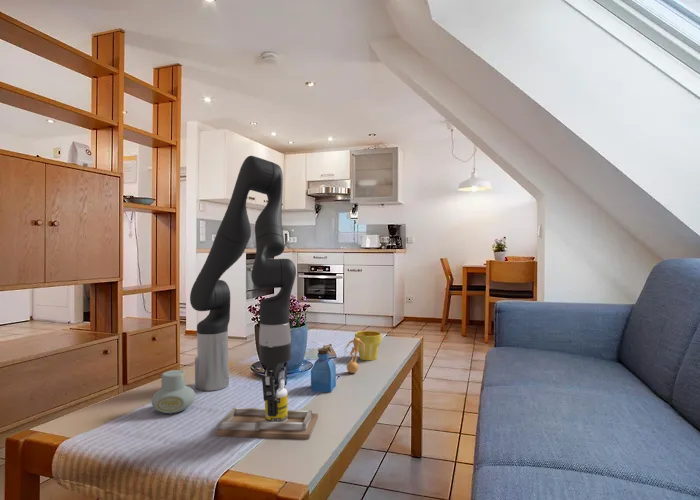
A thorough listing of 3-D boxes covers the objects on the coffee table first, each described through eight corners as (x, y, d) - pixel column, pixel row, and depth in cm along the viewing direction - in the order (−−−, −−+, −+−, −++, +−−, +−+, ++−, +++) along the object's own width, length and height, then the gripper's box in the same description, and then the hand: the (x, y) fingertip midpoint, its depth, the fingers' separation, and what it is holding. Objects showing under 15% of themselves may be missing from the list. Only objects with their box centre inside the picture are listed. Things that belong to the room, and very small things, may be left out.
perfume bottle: (331, 392, 128) (330, 352, 128) (311, 391, 129) (310, 351, 129) (335, 385, 134) (335, 347, 134) (316, 384, 135) (316, 346, 135)
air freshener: (197, 402, 121) (197, 367, 121) (192, 413, 113) (191, 376, 113) (156, 405, 119) (156, 369, 119) (148, 417, 111) (147, 378, 111)
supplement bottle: (268, 427, 100) (268, 385, 100) (262, 419, 105) (261, 379, 105) (290, 422, 103) (290, 382, 103) (283, 414, 108) (283, 375, 108)
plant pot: (386, 357, 167) (386, 331, 167) (373, 363, 158) (373, 337, 158) (363, 353, 172) (363, 329, 172) (350, 359, 164) (349, 334, 163)
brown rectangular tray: (215, 436, 100) (215, 425, 99) (234, 415, 111) (234, 405, 111) (309, 438, 97) (309, 427, 97) (318, 417, 109) (317, 407, 109)
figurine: (339, 372, 148) (339, 337, 148) (349, 368, 153) (349, 334, 152) (359, 376, 143) (358, 340, 143) (369, 372, 148) (368, 337, 147)
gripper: (268, 334, 111) (269, 399, 112) (250, 348, 97) (251, 422, 97) (296, 335, 111) (297, 400, 111) (282, 348, 96) (283, 423, 97)
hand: (276, 410), depth 104 cm, fingers closed on supplement bottle, 5 cm apart
